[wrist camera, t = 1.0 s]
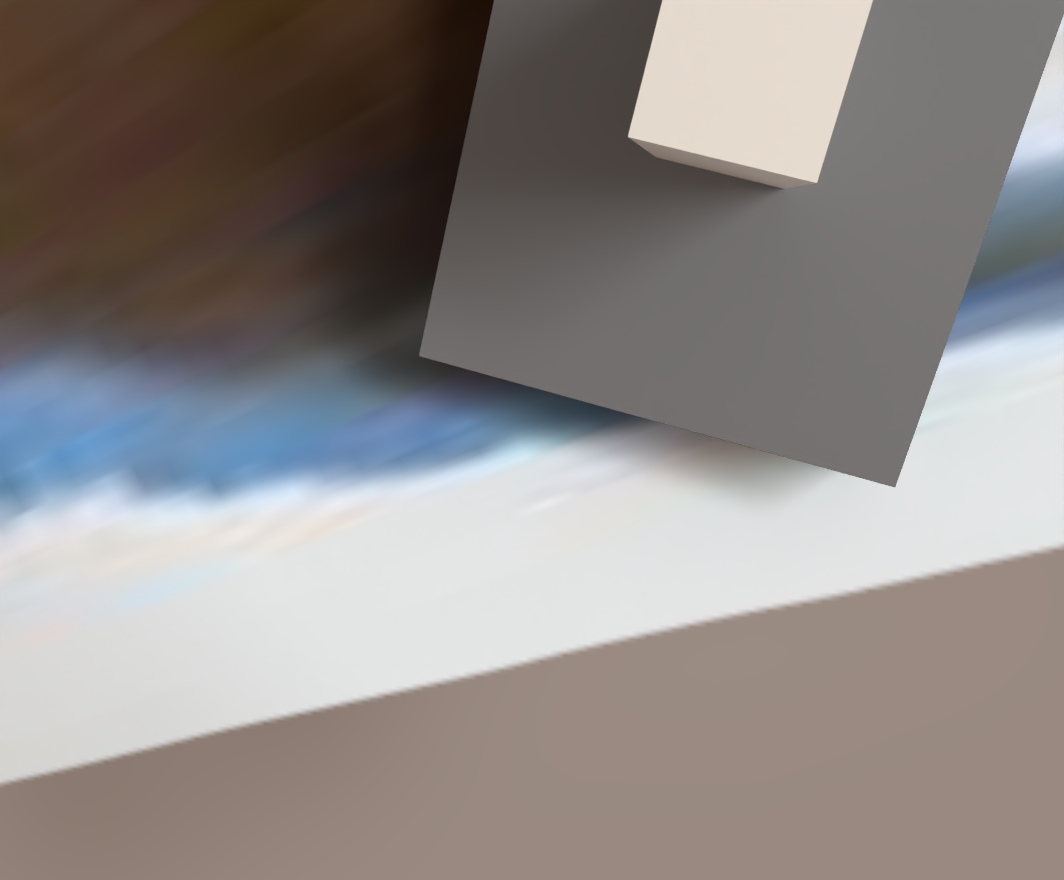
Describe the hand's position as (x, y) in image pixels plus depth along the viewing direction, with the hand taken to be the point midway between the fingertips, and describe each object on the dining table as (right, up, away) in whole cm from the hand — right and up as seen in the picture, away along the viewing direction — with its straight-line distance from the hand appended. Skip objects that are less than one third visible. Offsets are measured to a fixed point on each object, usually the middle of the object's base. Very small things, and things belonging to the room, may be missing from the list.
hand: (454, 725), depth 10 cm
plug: (+7, +14, +20) cm, 25 cm away
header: (+7, +14, +20) cm, 25 cm away
